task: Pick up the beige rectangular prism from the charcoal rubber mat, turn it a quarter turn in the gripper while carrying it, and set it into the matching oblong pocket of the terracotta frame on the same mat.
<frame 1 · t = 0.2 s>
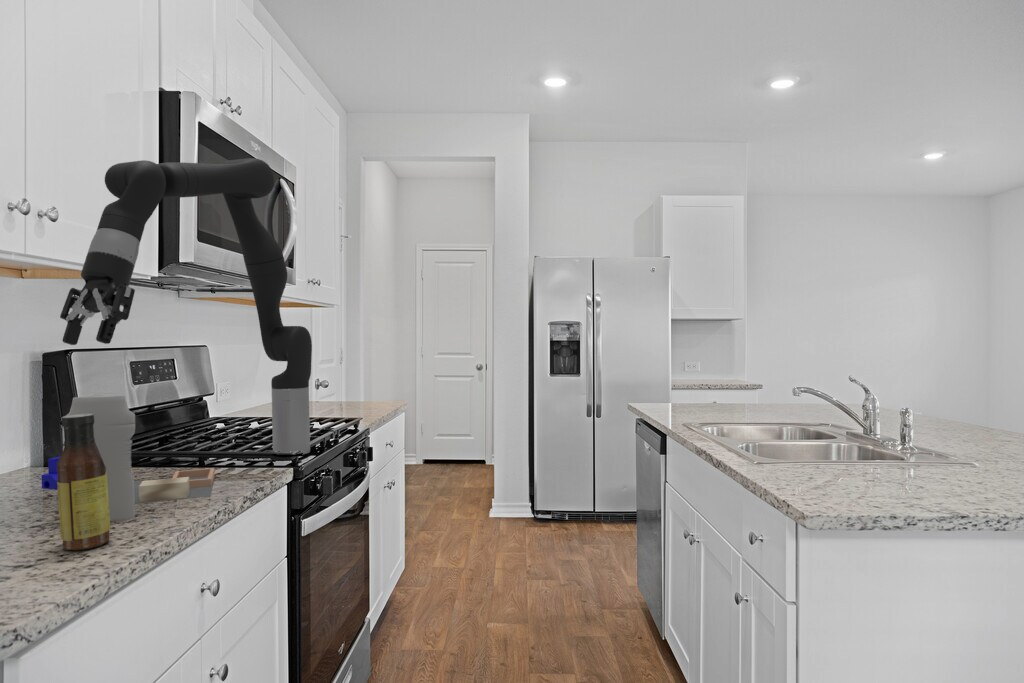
hand: (85, 343, 110), 30 cm above the counter, tool tilted 20°, fingers open, 8 cm apart
frame: (193, 484, 132), resting on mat
cable clip: (74, 489, 131), on the counter
sauce bottle: (85, 546, 95), on the counter
tall pale column: (102, 523, 106), on the counter
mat: (169, 490, 127), on the counter
beige rectangular prism: (165, 496, 121), resting on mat
ink box: (87, 476, 142), on the counter
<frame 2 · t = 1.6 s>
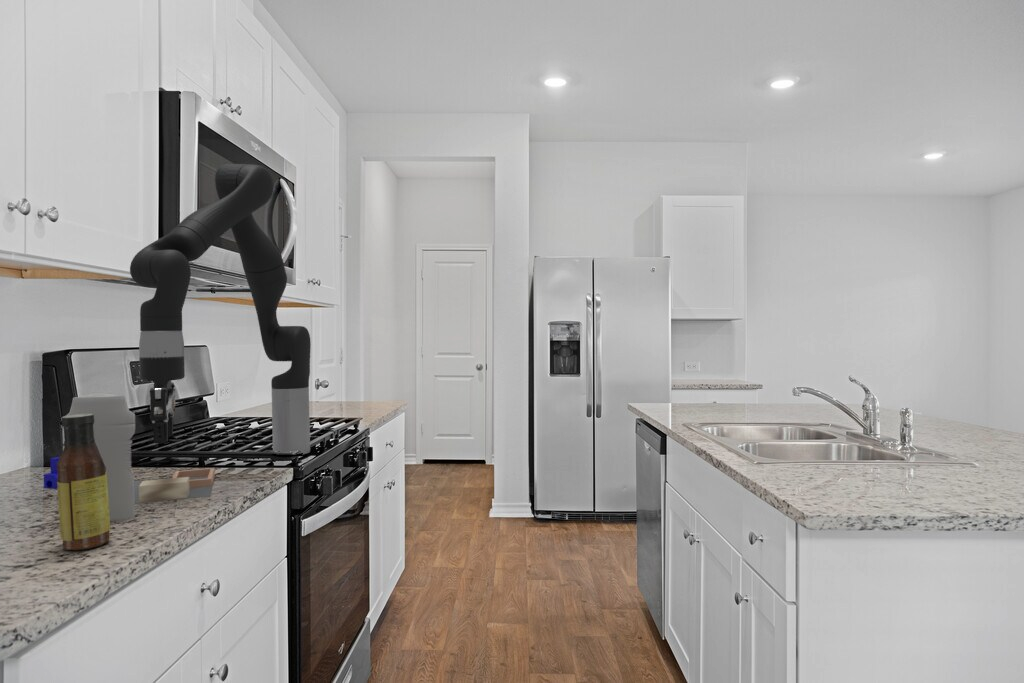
hand: (163, 439, 120), 12 cm above the counter, tool pointing down, fingers open, 8 cm apart
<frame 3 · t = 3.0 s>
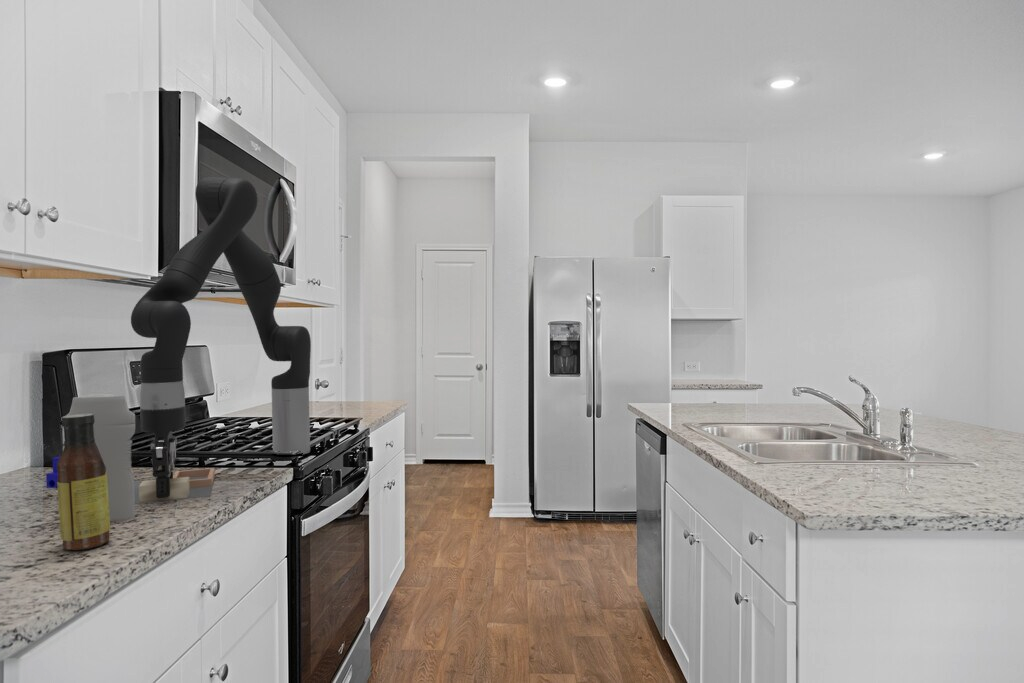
hand: (165, 493, 121), 1 cm above the counter, tool pointing down, fingers closed on beige rectangular prism, 4 cm apart
beige rectangular prism: (165, 496, 121), point 1 cm above the counter, touching gripper, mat
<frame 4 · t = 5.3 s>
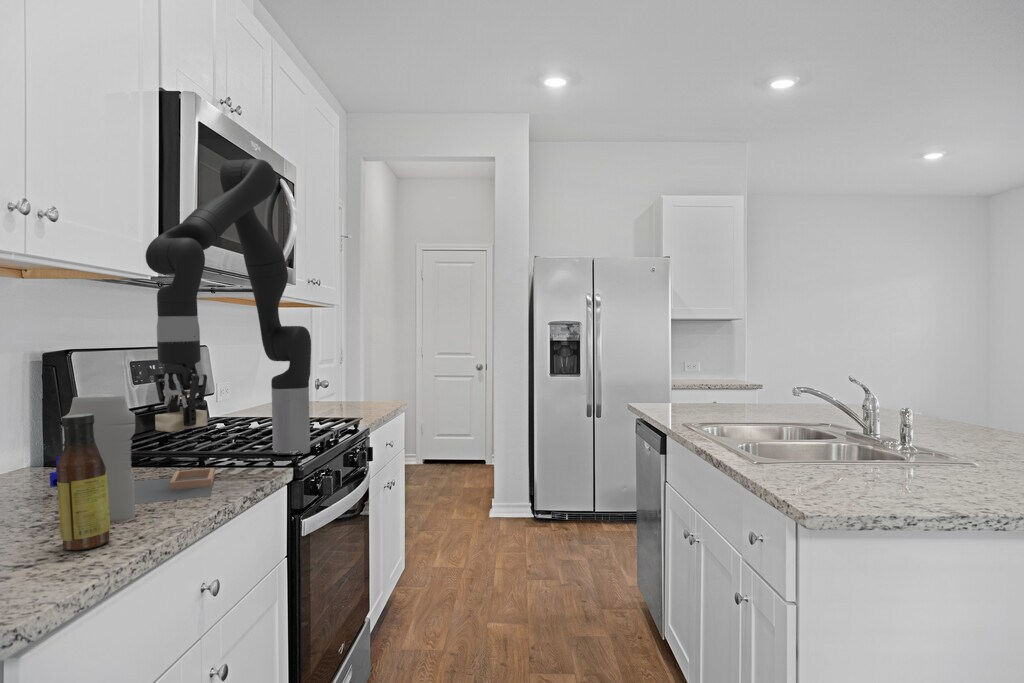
hand: (181, 424, 125), 14 cm above the counter, tool pointing down, fingers closed on beige rectangular prism, 4 cm apart
beige rectangular prism: (182, 427, 125), point 13 cm above the counter, touching gripper
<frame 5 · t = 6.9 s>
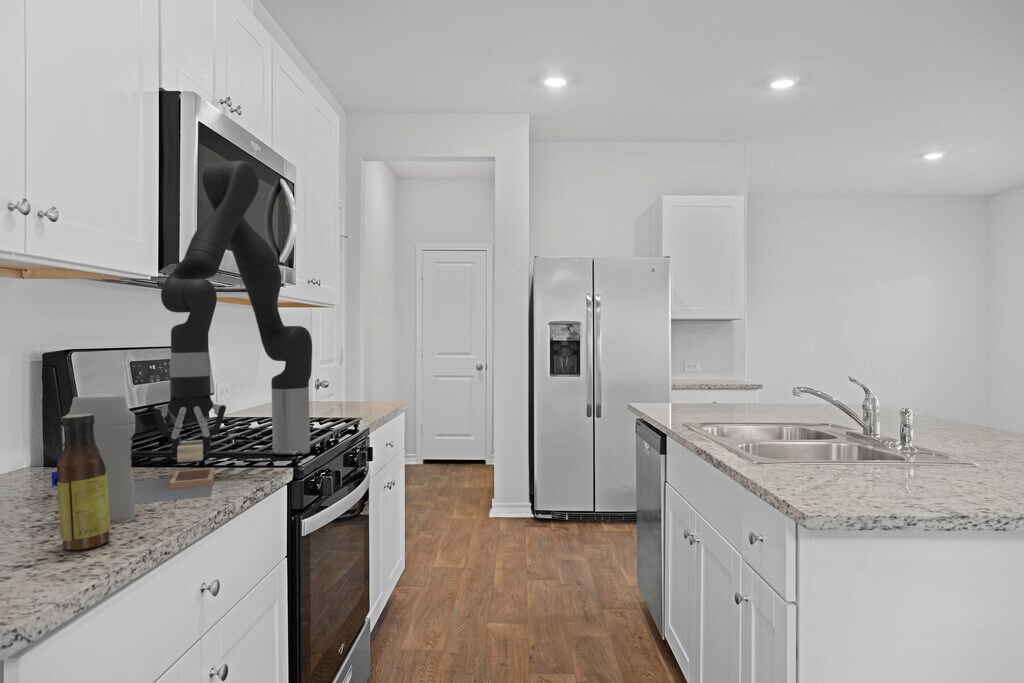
hand: (191, 454, 132), 6 cm above the counter, tool pointing down, fingers closed on beige rectangular prism, 4 cm apart
beige rectangular prism: (191, 457, 132), point 6 cm above the counter, touching gripper
when the fingers open (3 cm above the counter, at t = 7.9 s): beige rectangular prism drops 2 cm, resting on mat.
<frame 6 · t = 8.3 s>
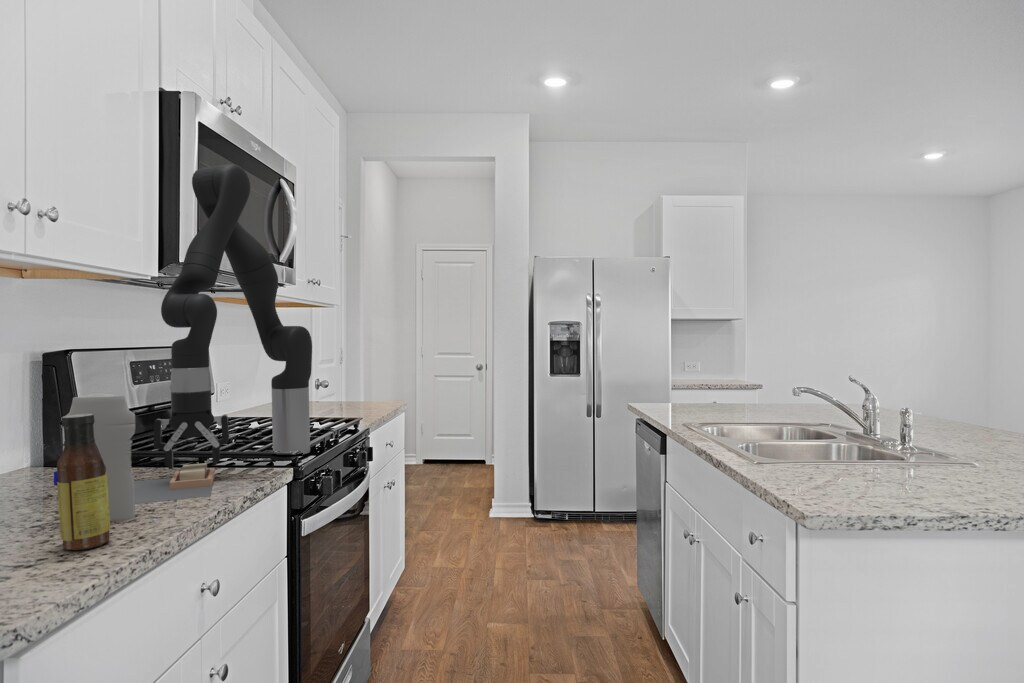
hand: (193, 466, 132), 4 cm above the counter, tool pointing down, fingers open, 8 cm apart
beige rectangular prism: (193, 481, 132), resting on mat
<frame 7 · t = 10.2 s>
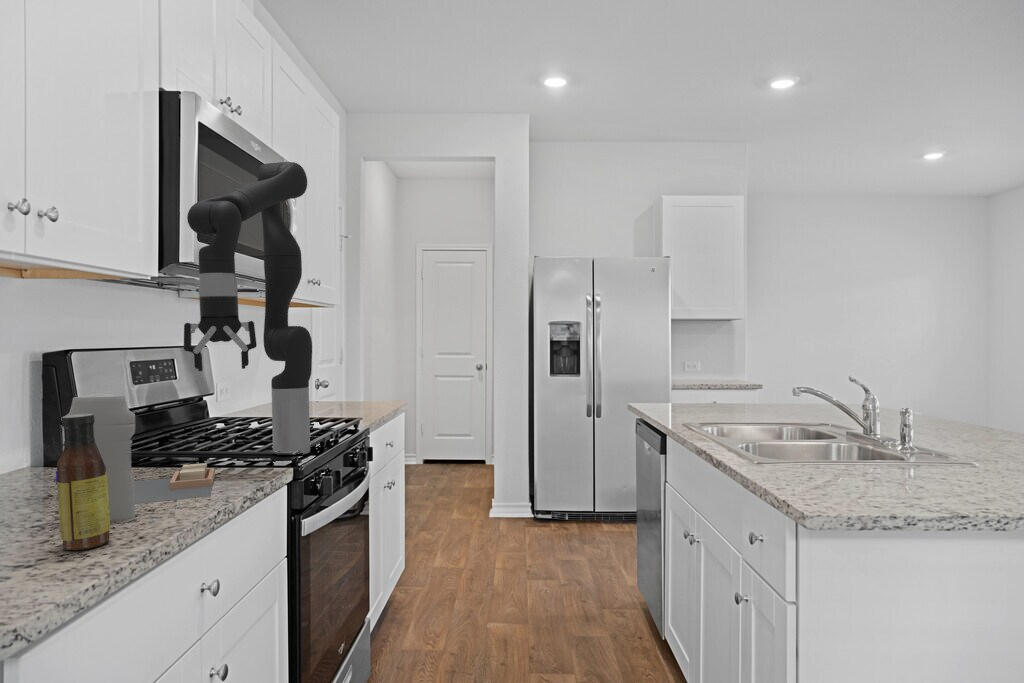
hand: (222, 369, 136), 24 cm above the counter, tool pointing down, fingers open, 8 cm apart
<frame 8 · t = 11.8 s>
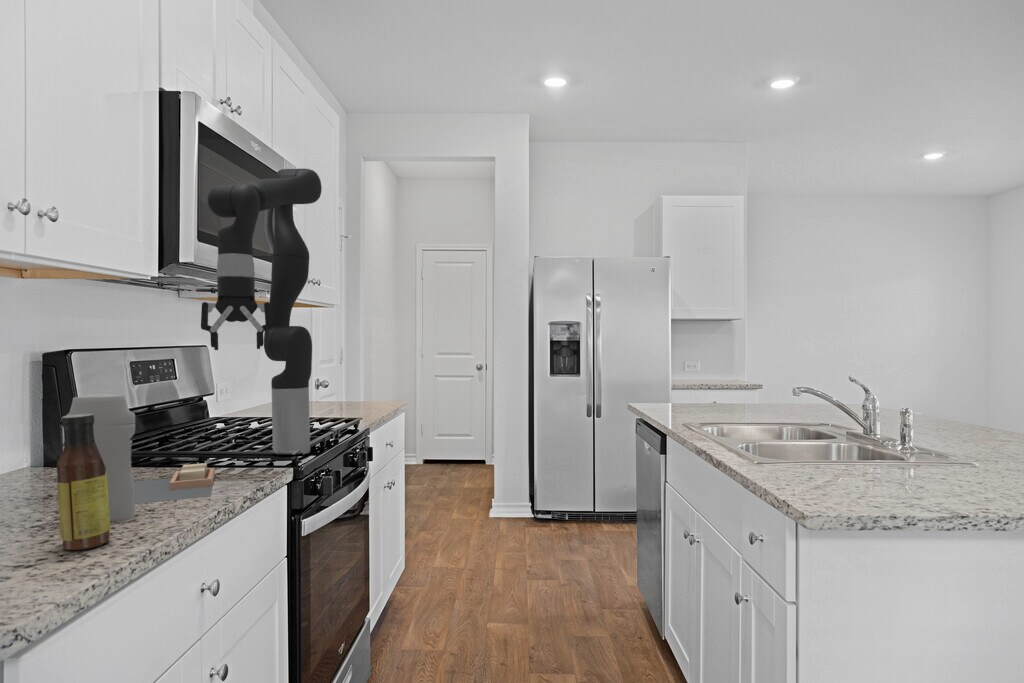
hand: (237, 349, 139), 28 cm above the counter, tool pointing down, fingers open, 8 cm apart
at the end: beige rectangular prism 0.1 cm off-centre on the frame, point 0.5 cm above the frame's base; beige rectangular prism tilted 0°; the gripper is holding nothing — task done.
